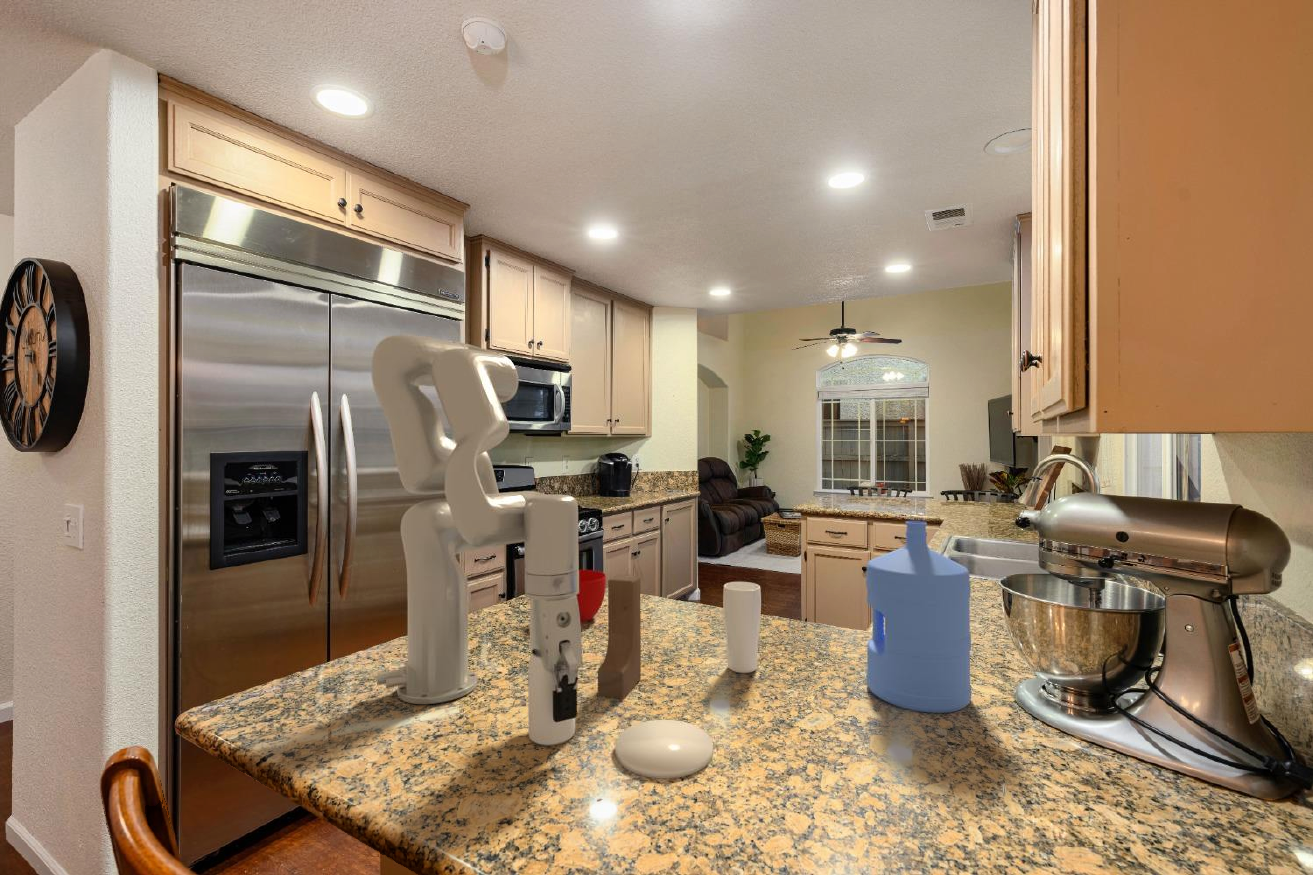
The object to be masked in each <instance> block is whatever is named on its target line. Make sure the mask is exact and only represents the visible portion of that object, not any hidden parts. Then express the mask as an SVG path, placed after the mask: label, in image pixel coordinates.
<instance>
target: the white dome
mask: <svg viewBox="0 0 1313 875" xmlns="http://www.w3.org/2000/svg"><path fill="white" fill-rule="evenodd" d="M713 755H714V744H713V740H712V738H711V735H709V733H708V732H707V731H706V730H704V729H702V728H701V727H699V726H697V725H695V724H692V723H689V722H686V721H685V722H684V721H681V720H674V719H654V720H653V719H652V720H647V721H641V722H638V723H636V724H634V725H631V726H629V727H627V728H626V729H624V730H623V731H621V733H619V735H618V736H617V738H616V741H615V757H616V760H617V761H618V763H619V764H620V765H621V766H622V767H623V768H625V769H626V770H628V771H629V772H631V773H634V774H636V775H639V776H643V777H646V778H653V779H677V778H682V777H686V776H687V777H688V776H689V775H690V776H691V775H692V774H693V775H694V774H695V773H697V772H699V771H701V770H703V769H705V768H706V767H707V766H708V765H709V763H710V762H711V761H712V759H713Z"/></svg>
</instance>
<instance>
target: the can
mask: <svg viewBox="0 0 1313 875" xmlns="http://www.w3.org/2000/svg"><path fill="white" fill-rule="evenodd" d="M528 661H529V662H528V678H527V679H528V688H527V690H528V701H527V702H528V712H527V713H528V737H529V739H530V740H531V741H532V742H533V743H534V744H536V745H538V746H544V747H555V746H558V745H559V746H560V745H562V744H564V743H567V742H569V741H570V740H571V739H572V738H573V736H574V735H575V732H576V718H573V719H569V720H565V721H560V722H555V721H554V720H553V691H555V686H554V681H553V676H552V673H549V672H548V671H546V670H545V669H544V667H543V663H542V661H541V656H538V655H537V654H536V653H535V652H534V649H533V650H532V653H531V657H530V659H529V660H528ZM563 665H565V664H559V665H556V667H558V666H563ZM563 675H566V673H560V674H559V678H560V681H561V679H562V677H563Z"/></svg>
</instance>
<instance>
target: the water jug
mask: <svg viewBox="0 0 1313 875" xmlns="http://www.w3.org/2000/svg"><path fill="white" fill-rule="evenodd" d="M905 525H906V531H905V538H906V539H905V540H906V541H905V545H903V547H900V548H898V549H895V550H893V551H890V552H888V553H887V552H886V553H885V554H882V555H880V556H878V557H874V558H872V559H870V560H869V561H868V562H867V564H866V573H865V585H866V586H865V587H866V603H867V604H868V606H870V607H871V609H872V637H871V638H870V639H869V640H868V642H867V645H866V649H867V651H866V652H867V657H866V659H867V662H866V663H867V666H866V667H867V668H866V672H865V673H866V675H865V676H866V684H867V687H868V689H869V690H870V692H871V693H872V694H873V695H875V696H876V697H877V698H879V699H880V700H882V701H884V702H886V703H888V704H890V705H893V706H896V707H898V708H901V709H906V710H910V711H915V712H920V713H927V714H928V713H929V714H930V713H931V714H946V713H954V712H957V711H959V710H962V709H964V708H966V707H967V706H968V705H969V704H970V702H971V701H972V685H971V649H972V648H971V647H972V636H971V629H970V628H971V626H970V625H971V622H970V621H971V620H970V619H971V615H970V613H971V610H970V605H971V602H970V601H971V600H970V599H971V593H972V590H971V587H972V586H971V581H970V571H969V568H967V567H965V566H963V565H962V564H960V563H958V562H956V561H955V560H952V559H950V558H948V557H946V556H944V555H942V554H940V553H939V552H936V551H934V550H932V549H931V548H930V547H929V546H928V544H927V537H928V532H927V528H926V527H927V525H928V523H927V522H926V521H922V520H906V521H905Z"/></svg>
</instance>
